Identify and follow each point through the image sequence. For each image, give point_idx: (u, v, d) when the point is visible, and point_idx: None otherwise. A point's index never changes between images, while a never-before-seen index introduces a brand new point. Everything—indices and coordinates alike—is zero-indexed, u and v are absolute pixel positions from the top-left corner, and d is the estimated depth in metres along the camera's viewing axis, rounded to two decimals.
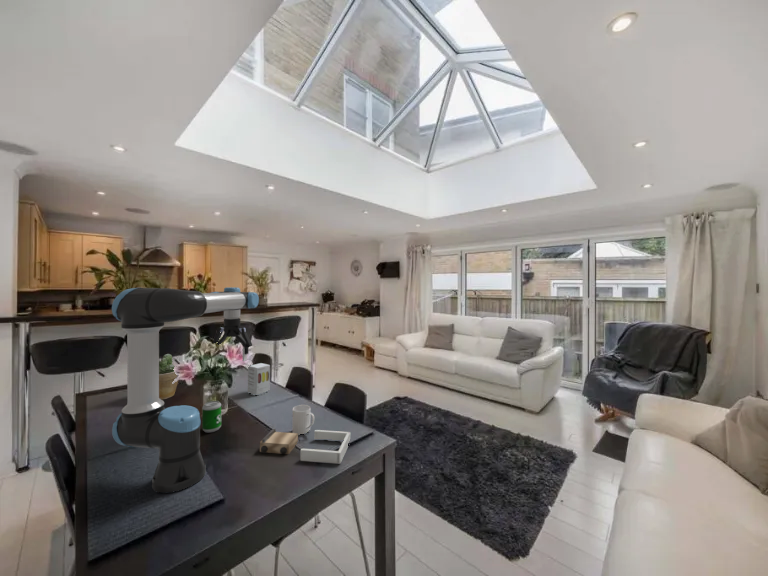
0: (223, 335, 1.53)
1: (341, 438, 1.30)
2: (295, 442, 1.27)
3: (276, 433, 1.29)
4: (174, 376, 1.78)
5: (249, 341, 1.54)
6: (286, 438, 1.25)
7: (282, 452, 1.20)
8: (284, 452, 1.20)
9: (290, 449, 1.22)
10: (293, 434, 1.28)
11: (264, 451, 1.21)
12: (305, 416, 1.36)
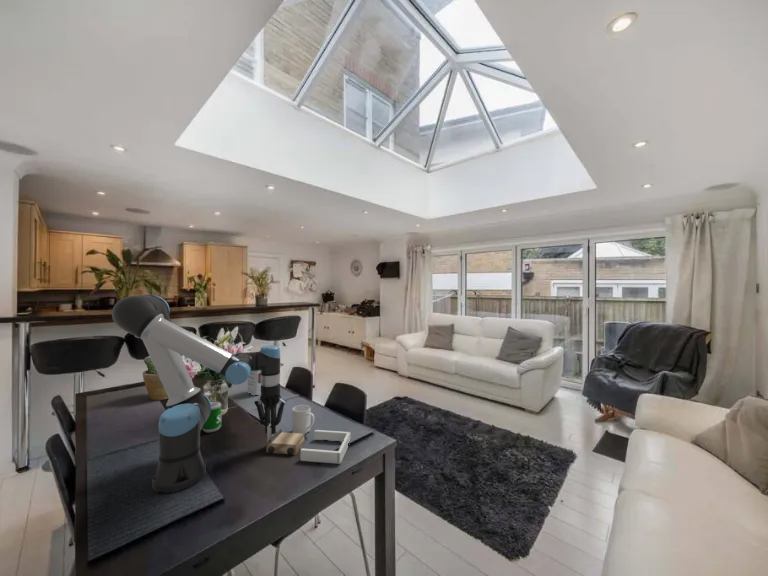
0: (264, 408, 1.25)
1: (341, 438, 1.30)
2: (302, 442, 1.26)
3: (282, 434, 1.29)
4: None
5: (280, 418, 1.26)
6: (293, 439, 1.24)
7: (289, 452, 1.20)
8: (291, 452, 1.20)
9: (297, 449, 1.22)
10: (300, 435, 1.28)
11: (271, 452, 1.21)
12: (305, 416, 1.36)
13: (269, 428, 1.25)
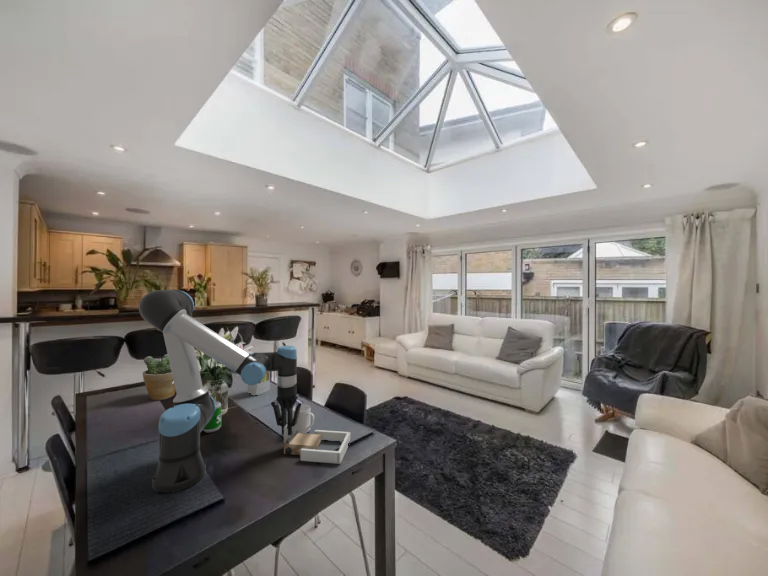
0: (281, 409, 1.24)
1: (341, 438, 1.30)
2: (318, 443, 1.26)
3: (298, 435, 1.28)
4: None
5: (296, 419, 1.25)
6: (310, 440, 1.24)
7: None
8: None
9: None
10: (317, 436, 1.27)
11: (288, 453, 1.20)
12: (305, 416, 1.36)
13: (286, 429, 1.24)
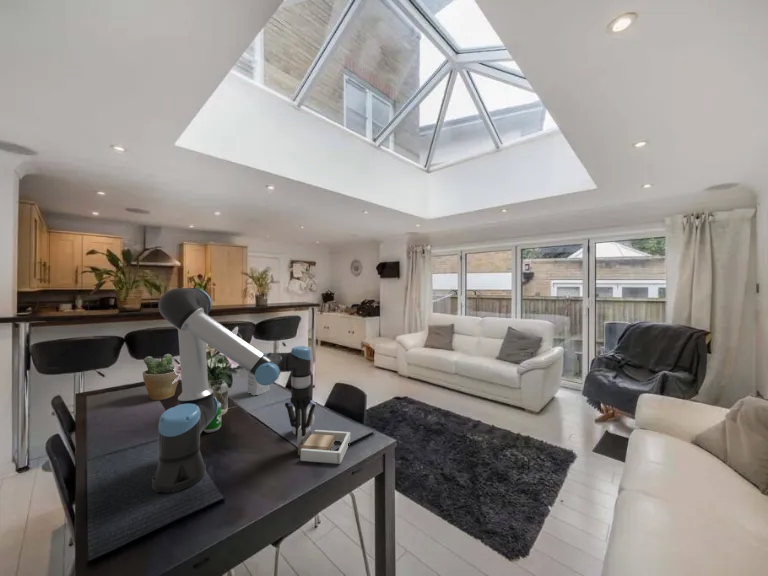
0: (295, 410, 1.23)
1: (341, 438, 1.30)
2: (332, 444, 1.25)
3: (312, 435, 1.27)
4: (174, 376, 1.78)
5: (310, 420, 1.24)
6: (324, 441, 1.23)
7: None
8: None
9: None
10: (330, 437, 1.26)
11: None
12: None
13: (300, 430, 1.23)
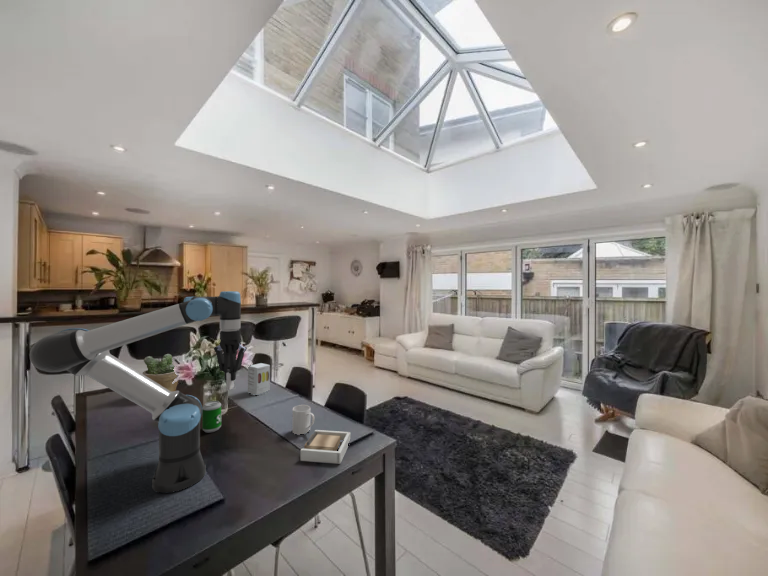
0: (223, 354, 1.22)
1: (341, 438, 1.30)
2: (338, 445, 1.25)
3: (318, 436, 1.27)
4: (174, 376, 1.78)
5: (239, 365, 1.23)
6: (330, 441, 1.23)
7: None
8: None
9: None
10: (336, 437, 1.26)
11: None
12: (305, 416, 1.36)
13: (228, 374, 1.22)
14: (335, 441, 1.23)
